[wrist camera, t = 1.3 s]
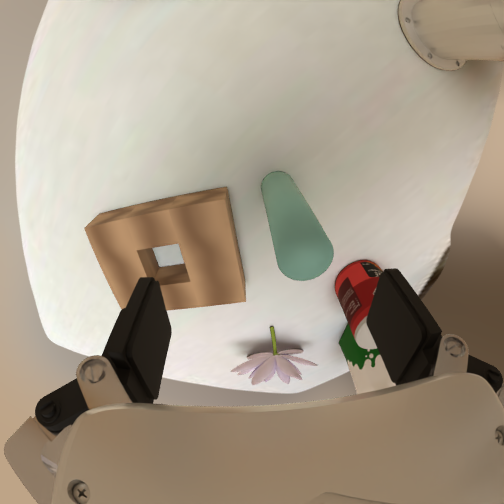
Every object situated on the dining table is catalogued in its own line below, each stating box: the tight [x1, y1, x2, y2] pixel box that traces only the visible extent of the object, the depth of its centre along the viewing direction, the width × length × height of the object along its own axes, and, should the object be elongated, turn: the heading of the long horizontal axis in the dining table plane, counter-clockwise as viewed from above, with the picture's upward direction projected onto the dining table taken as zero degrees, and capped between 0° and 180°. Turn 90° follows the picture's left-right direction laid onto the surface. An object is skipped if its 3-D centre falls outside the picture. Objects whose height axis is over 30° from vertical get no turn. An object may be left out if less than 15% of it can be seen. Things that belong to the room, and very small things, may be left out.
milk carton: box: [339, 324, 396, 394], centre depth 37 cm, size 9×9×20 cm
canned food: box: [335, 260, 383, 349], centre depth 35 cm, size 8×8×11 cm
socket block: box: [84, 187, 246, 310], centre depth 34 cm, size 18×14×4 cm
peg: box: [261, 171, 334, 281], centre depth 26 cm, size 4×4×16 cm
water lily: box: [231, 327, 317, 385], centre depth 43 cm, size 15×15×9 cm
